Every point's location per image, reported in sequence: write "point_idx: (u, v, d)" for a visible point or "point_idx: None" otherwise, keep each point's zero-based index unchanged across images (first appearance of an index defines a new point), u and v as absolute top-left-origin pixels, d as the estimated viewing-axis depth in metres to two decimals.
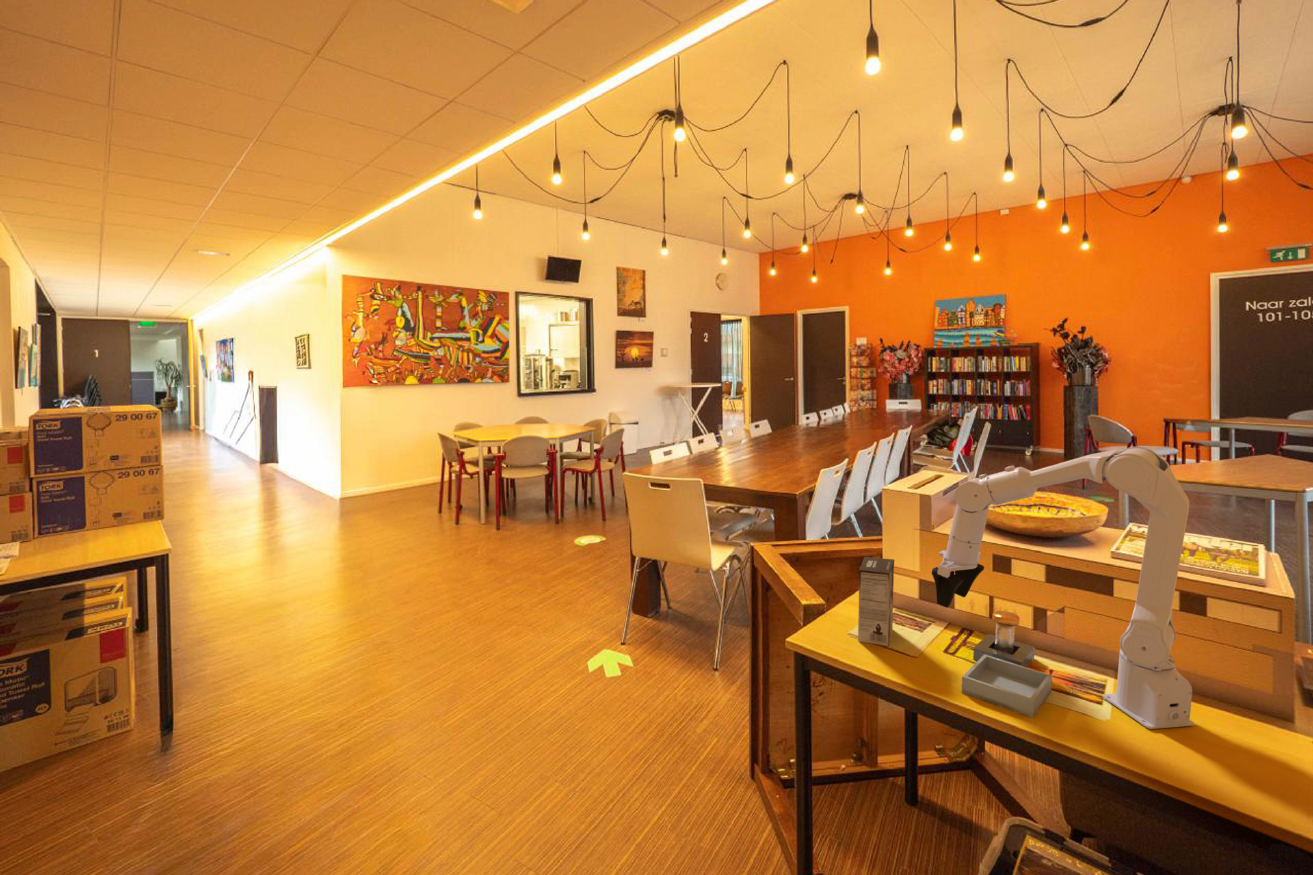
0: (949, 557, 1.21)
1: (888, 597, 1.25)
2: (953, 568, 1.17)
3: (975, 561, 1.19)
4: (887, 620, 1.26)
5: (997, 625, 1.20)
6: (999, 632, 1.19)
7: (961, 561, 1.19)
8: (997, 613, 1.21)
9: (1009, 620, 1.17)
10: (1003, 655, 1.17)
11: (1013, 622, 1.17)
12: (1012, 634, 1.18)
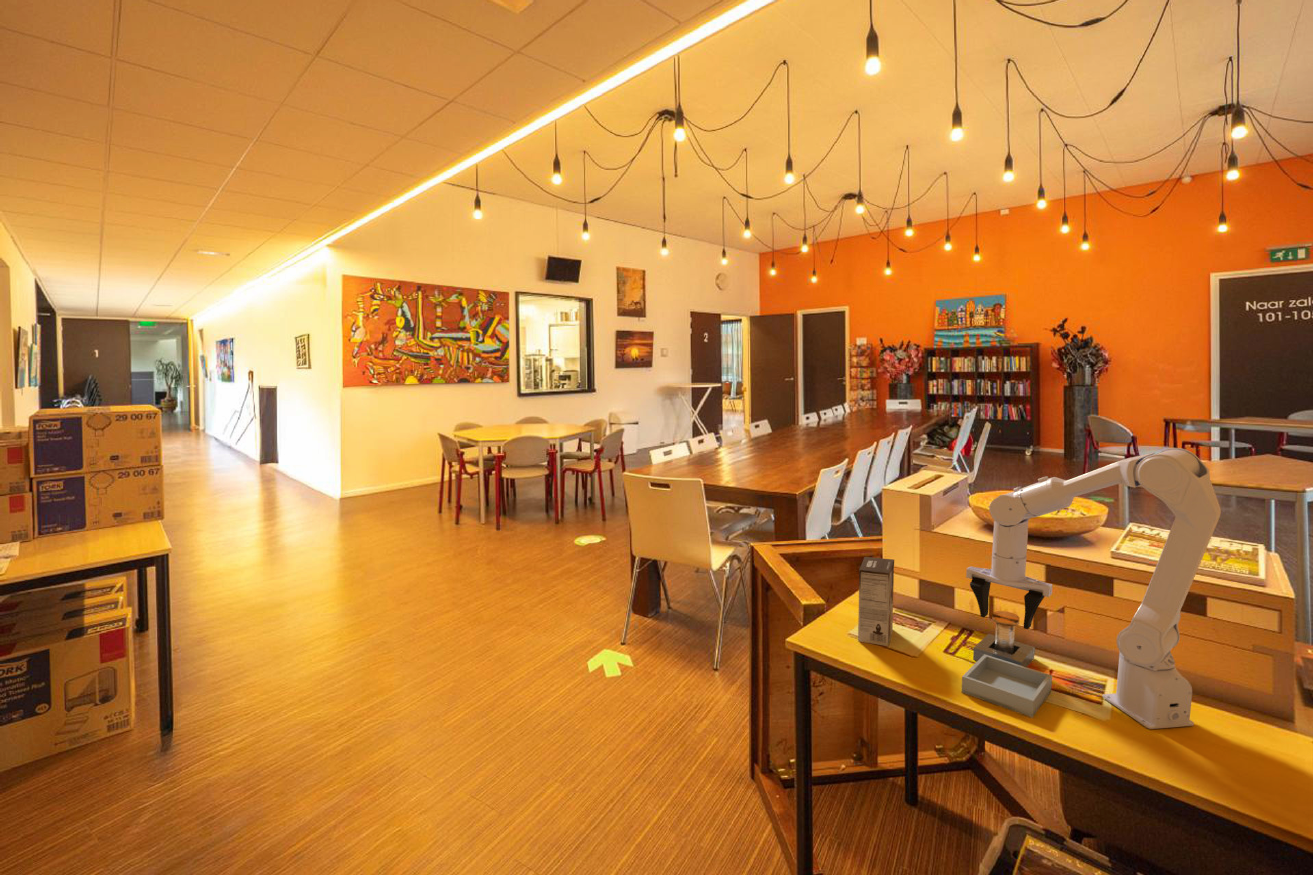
0: None
1: (888, 597, 1.25)
2: (974, 571, 1.22)
3: (1001, 576, 1.16)
4: (887, 620, 1.26)
5: (997, 625, 1.20)
6: (999, 632, 1.19)
7: (991, 572, 1.19)
8: (997, 613, 1.21)
9: (1009, 620, 1.17)
10: (1003, 655, 1.17)
11: (1013, 622, 1.17)
12: (1012, 634, 1.18)
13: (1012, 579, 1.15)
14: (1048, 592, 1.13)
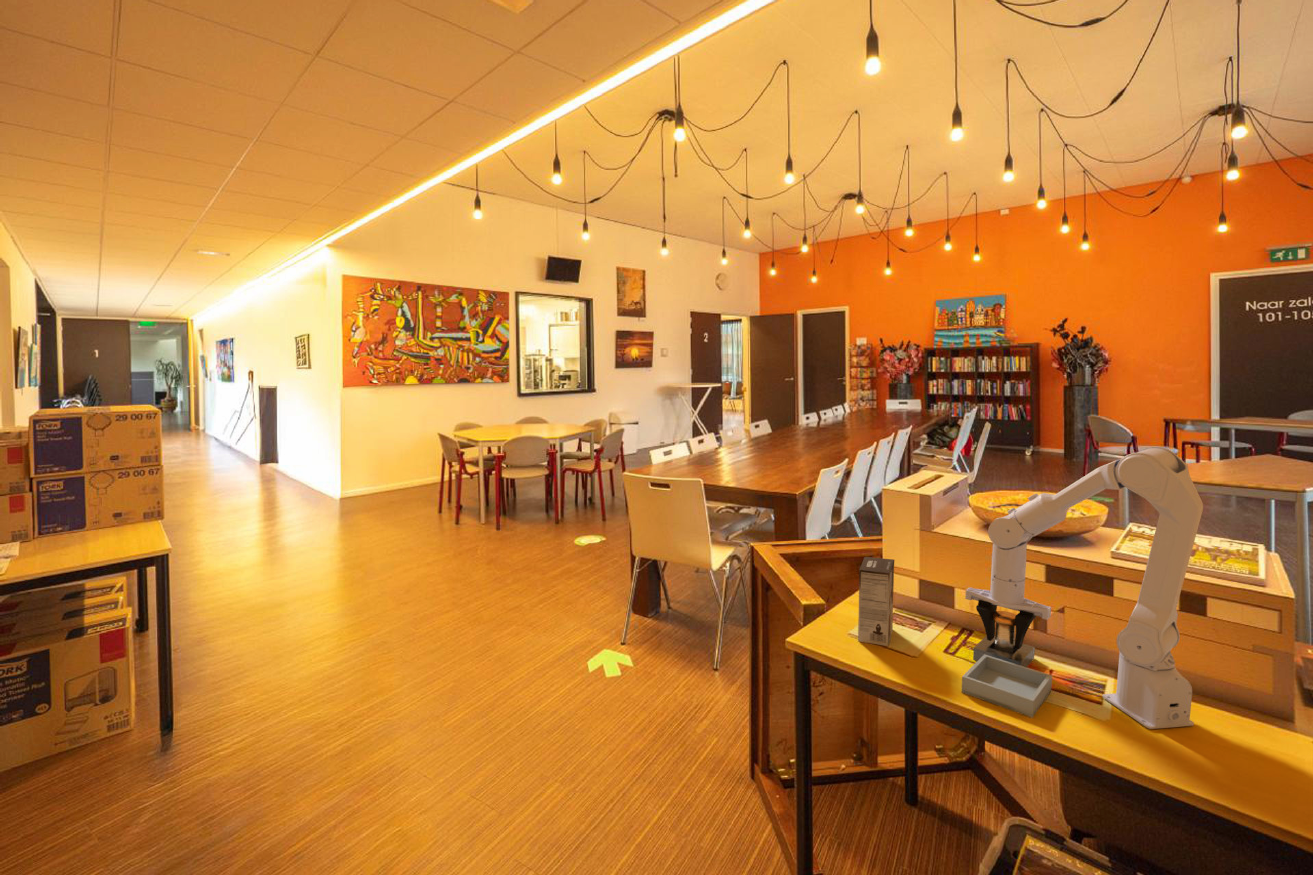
0: None
1: (888, 597, 1.25)
2: (973, 593, 1.22)
3: (1000, 599, 1.17)
4: (887, 620, 1.26)
5: (997, 625, 1.20)
6: (999, 632, 1.19)
7: (990, 594, 1.20)
8: (997, 613, 1.21)
9: (1009, 620, 1.17)
10: (1003, 655, 1.17)
11: (1013, 622, 1.17)
12: (1012, 634, 1.18)
13: (1011, 601, 1.16)
14: (1047, 615, 1.13)
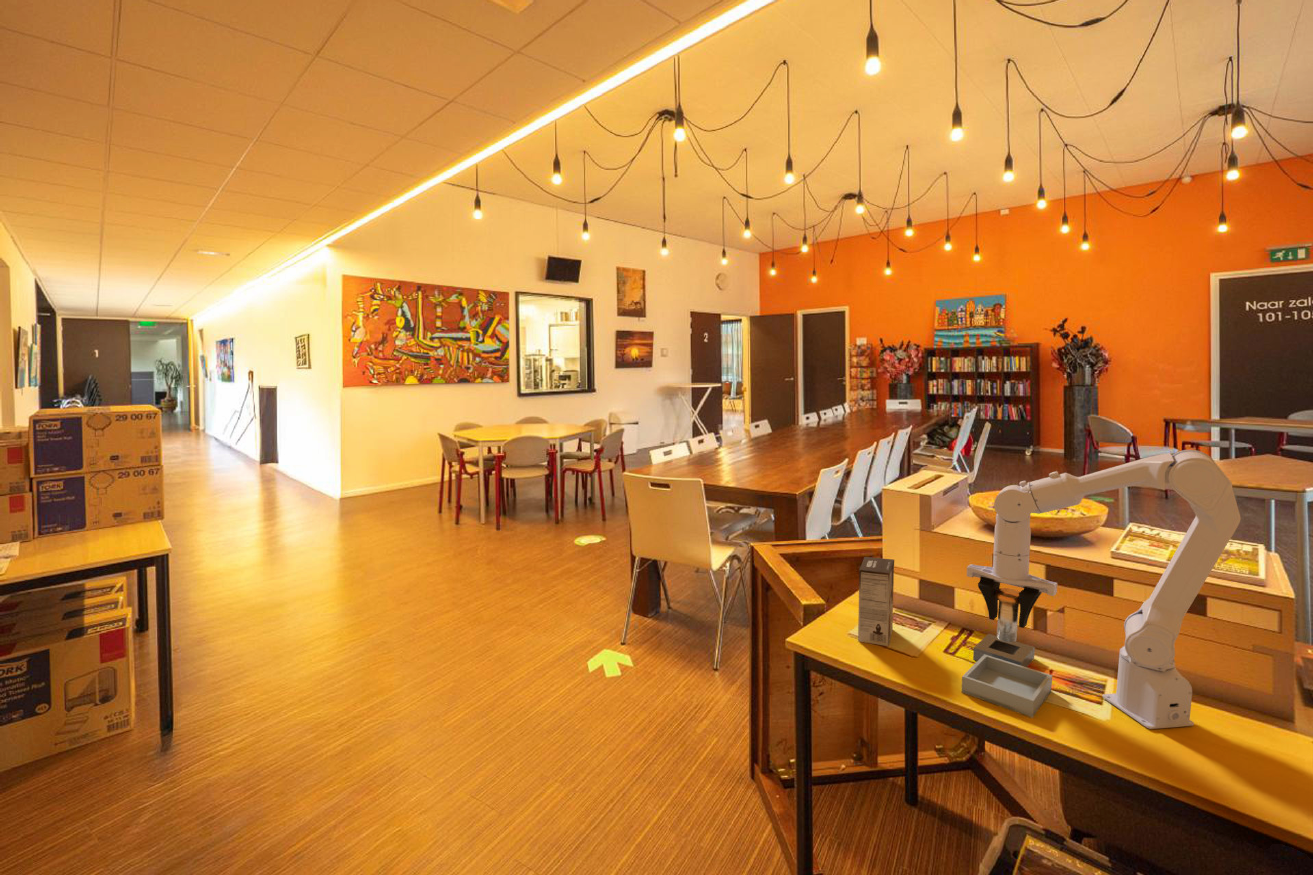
0: None
1: (888, 597, 1.25)
2: (974, 569, 1.16)
3: (1003, 574, 1.11)
4: (887, 620, 1.26)
5: (1000, 603, 1.13)
6: (1002, 611, 1.13)
7: (992, 570, 1.13)
8: (1000, 590, 1.14)
9: (1013, 598, 1.11)
10: (1003, 655, 1.17)
11: (1017, 600, 1.11)
12: (1016, 612, 1.12)
13: (1014, 577, 1.10)
14: (1053, 591, 1.07)
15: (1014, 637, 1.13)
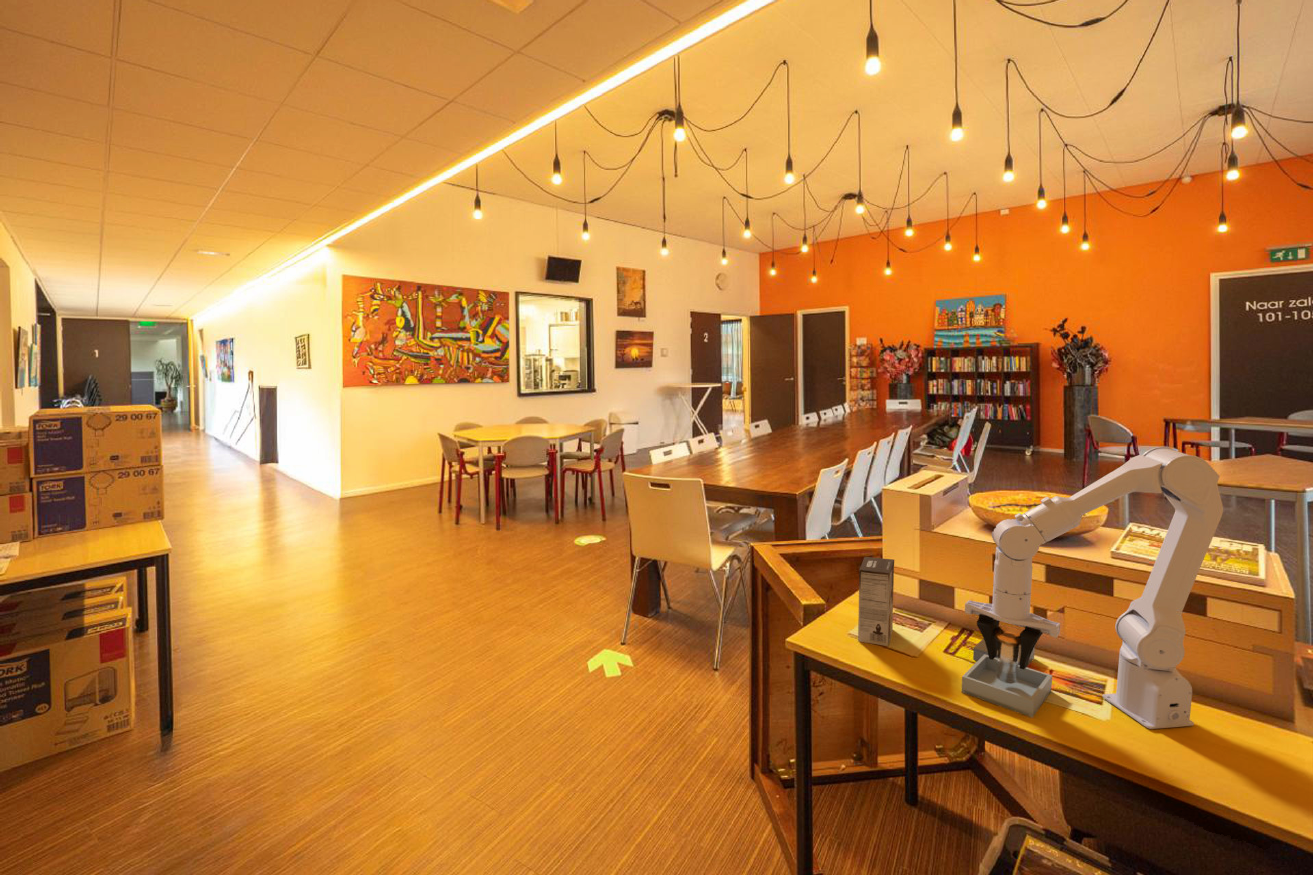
0: None
1: (888, 597, 1.25)
2: (973, 606, 1.11)
3: (1003, 614, 1.05)
4: (887, 620, 1.26)
5: (1000, 643, 1.08)
6: (1002, 651, 1.08)
7: (992, 608, 1.08)
8: (1000, 629, 1.09)
9: (1014, 639, 1.06)
10: None
11: (1018, 641, 1.06)
12: (1017, 653, 1.07)
13: (1015, 617, 1.04)
14: (1055, 632, 1.02)
15: (1015, 678, 1.08)
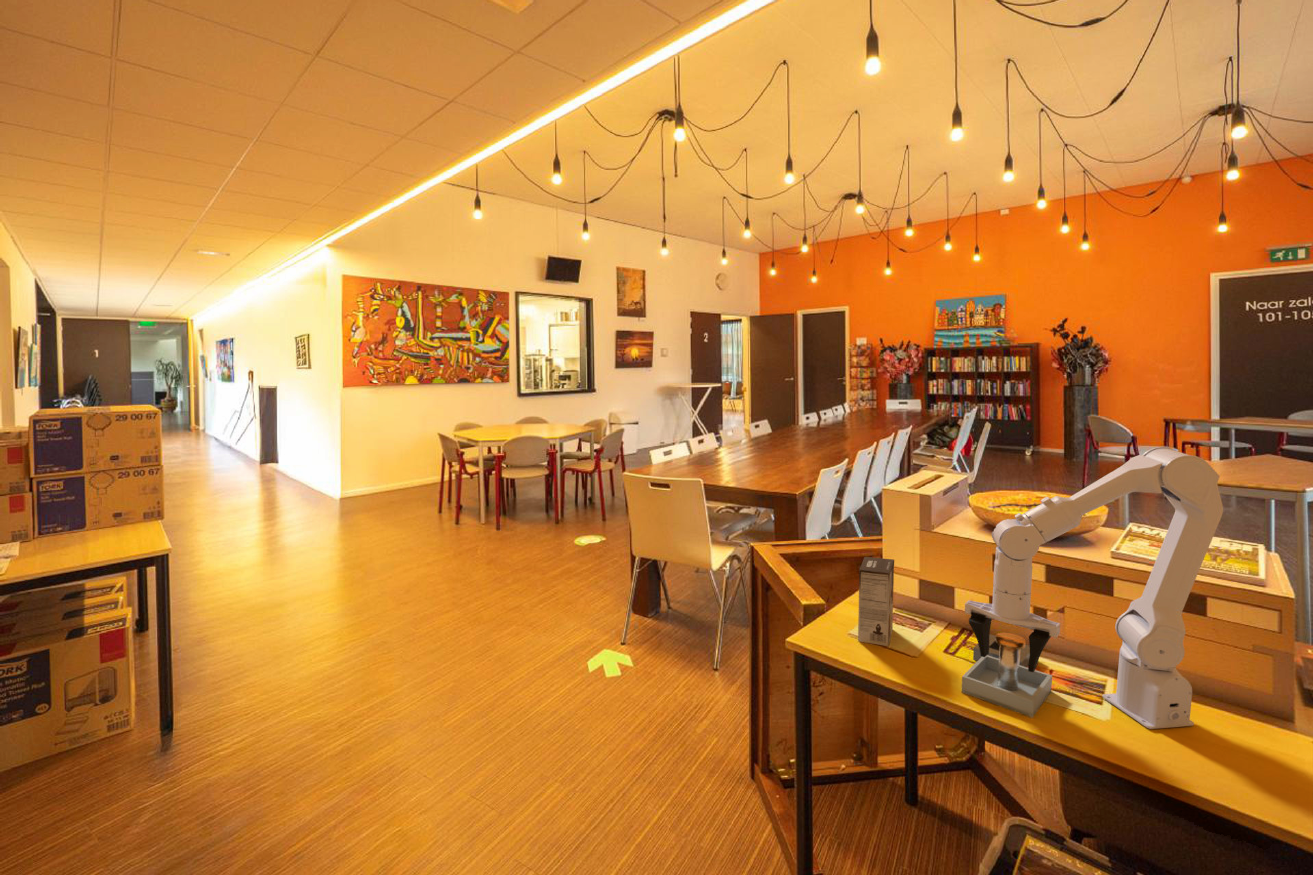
0: None
1: (888, 597, 1.25)
2: (973, 606, 1.11)
3: (1003, 614, 1.05)
4: (887, 620, 1.26)
5: (1001, 648, 1.09)
6: (1003, 656, 1.08)
7: (992, 608, 1.08)
8: (1001, 634, 1.10)
9: (1015, 643, 1.07)
10: None
11: (1019, 645, 1.07)
12: (1017, 658, 1.08)
13: (1015, 617, 1.04)
14: (1055, 632, 1.02)
15: (1016, 685, 1.08)
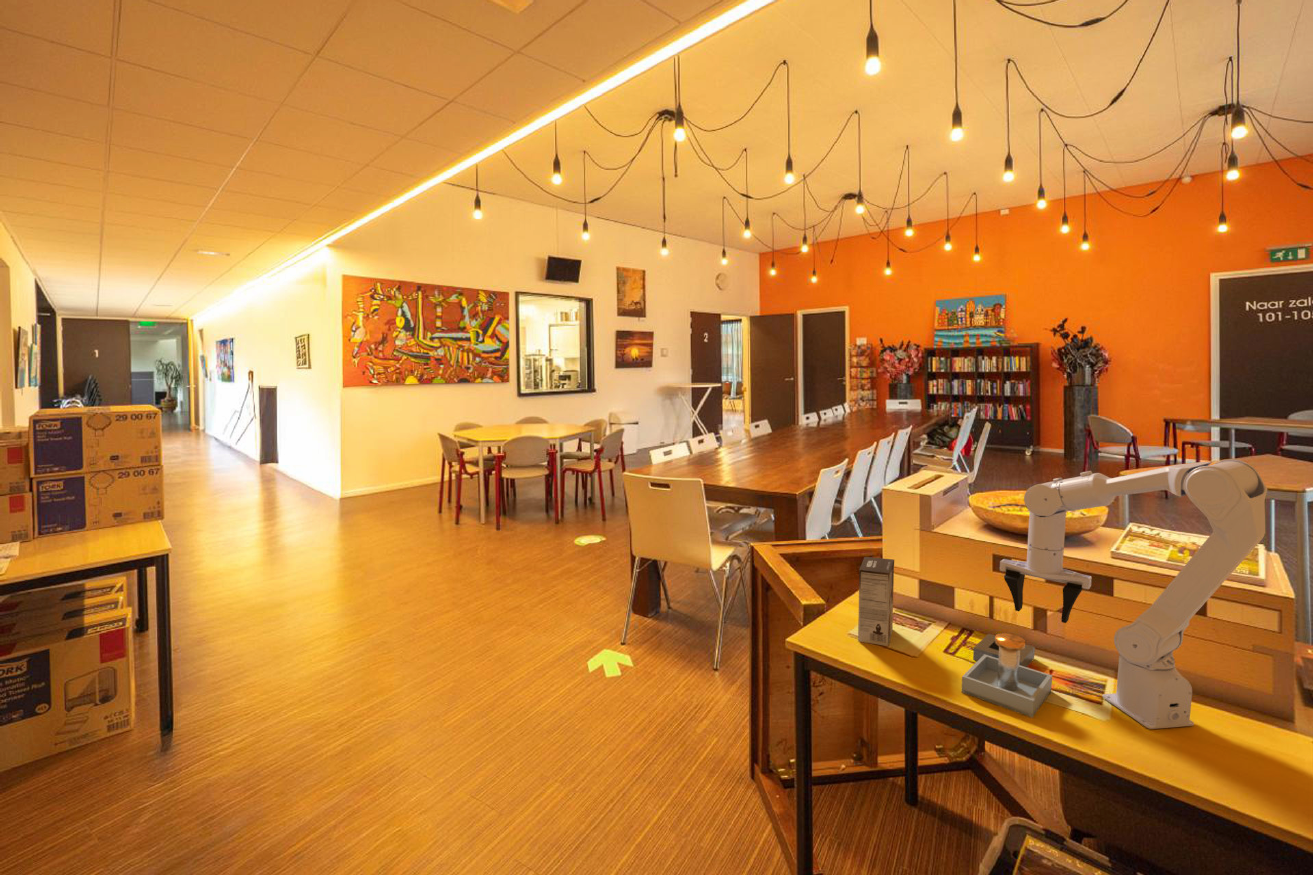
0: None
1: (888, 597, 1.25)
2: (1008, 564, 1.18)
3: (1038, 569, 1.13)
4: (887, 620, 1.26)
5: (1000, 649, 1.09)
6: (1003, 657, 1.08)
7: (1026, 565, 1.16)
8: (1000, 635, 1.10)
9: (1014, 644, 1.07)
10: None
11: (1018, 646, 1.06)
12: (1017, 659, 1.08)
13: (1049, 571, 1.12)
14: (1088, 584, 1.09)
15: (1015, 685, 1.08)
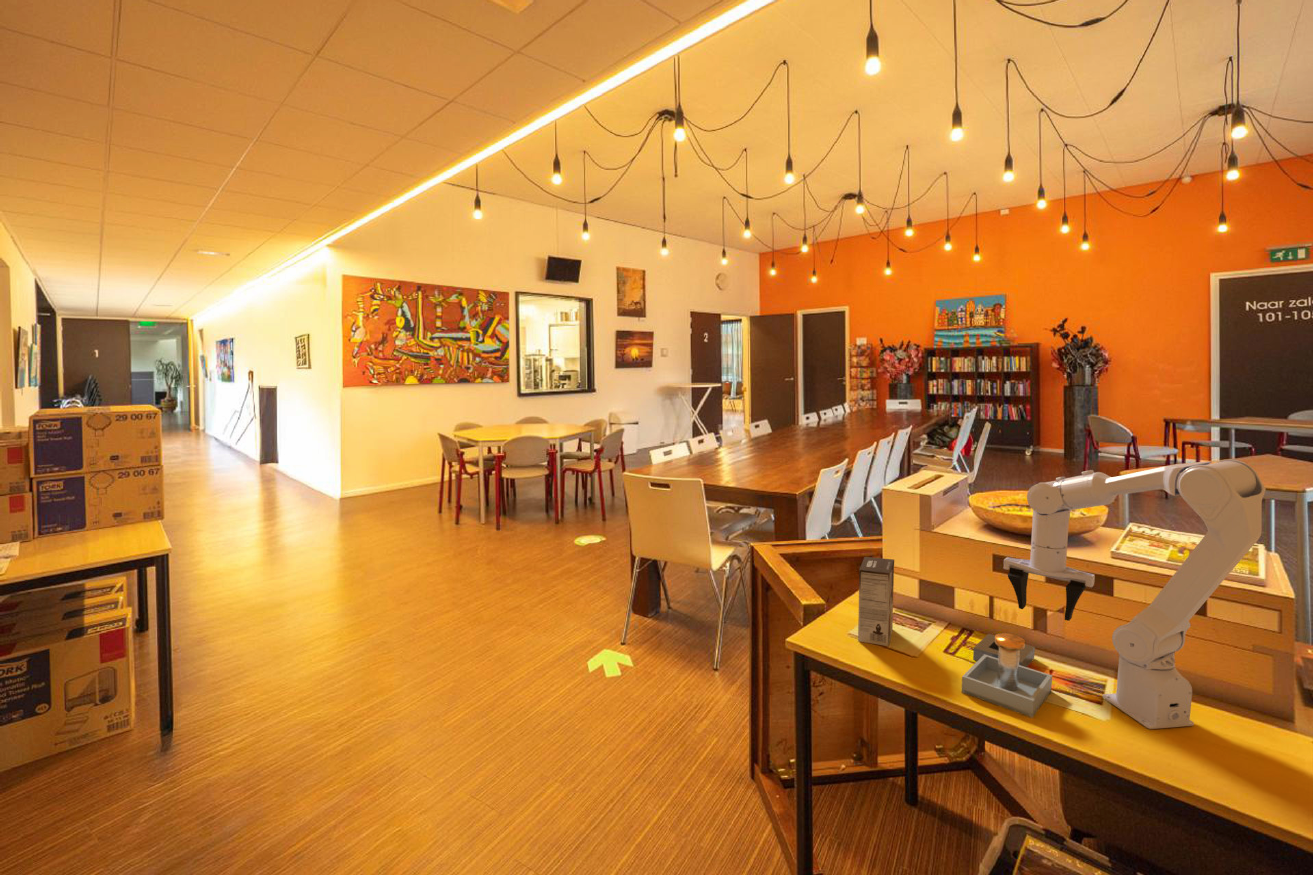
0: None
1: (888, 597, 1.25)
2: (1011, 562, 1.19)
3: (1042, 567, 1.14)
4: (887, 620, 1.26)
5: (1000, 650, 1.09)
6: (1003, 657, 1.08)
7: (1030, 563, 1.17)
8: (1000, 635, 1.10)
9: (1014, 644, 1.07)
10: None
11: (1018, 646, 1.06)
12: (1017, 659, 1.08)
13: (1053, 569, 1.13)
14: (1091, 582, 1.10)
15: (1015, 685, 1.08)
